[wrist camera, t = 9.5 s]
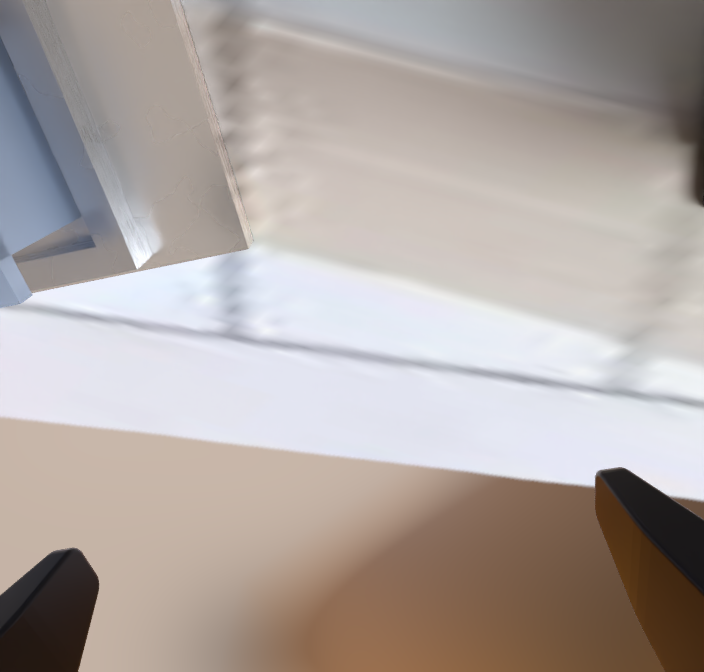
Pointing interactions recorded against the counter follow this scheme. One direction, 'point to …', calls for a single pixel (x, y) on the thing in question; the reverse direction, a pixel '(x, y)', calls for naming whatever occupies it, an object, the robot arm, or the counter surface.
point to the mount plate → (123, 138)
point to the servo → (25, 184)
